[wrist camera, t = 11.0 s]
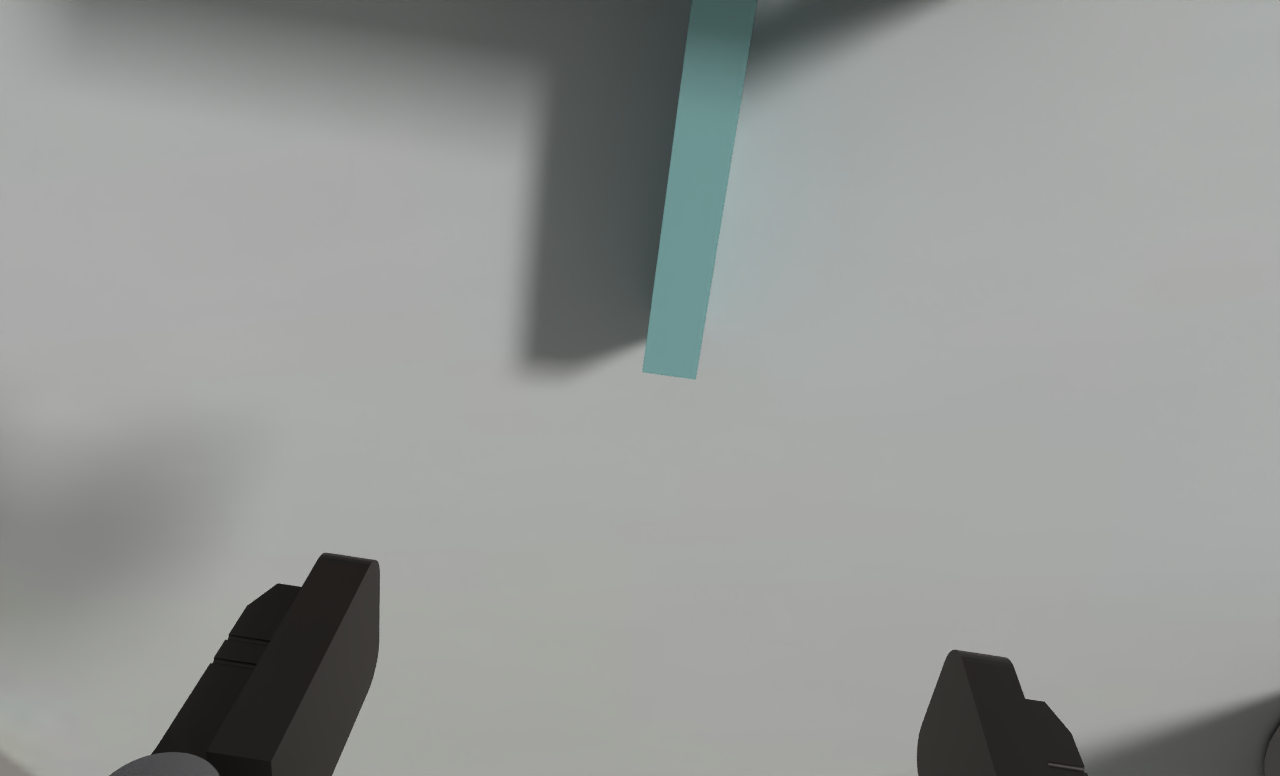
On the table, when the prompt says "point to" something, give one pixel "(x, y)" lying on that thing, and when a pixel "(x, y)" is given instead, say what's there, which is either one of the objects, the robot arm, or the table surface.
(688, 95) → the long teal stick
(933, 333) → the table surface
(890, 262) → the table surface
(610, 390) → the table surface
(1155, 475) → the table surface
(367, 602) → the robot arm
